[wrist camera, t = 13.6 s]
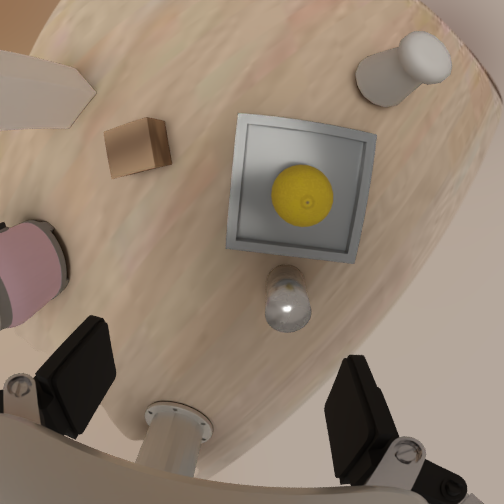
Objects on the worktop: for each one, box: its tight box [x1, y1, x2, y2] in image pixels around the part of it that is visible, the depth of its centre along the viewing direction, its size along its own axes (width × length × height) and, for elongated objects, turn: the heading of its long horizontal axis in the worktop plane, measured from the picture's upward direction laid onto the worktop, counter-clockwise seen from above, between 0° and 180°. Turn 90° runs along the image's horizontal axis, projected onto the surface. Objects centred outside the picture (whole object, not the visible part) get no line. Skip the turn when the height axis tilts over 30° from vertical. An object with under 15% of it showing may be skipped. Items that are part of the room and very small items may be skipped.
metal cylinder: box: [265, 265, 311, 333], centre depth 30 cm, size 4×4×7 cm
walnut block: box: [104, 117, 172, 179], centre depth 27 cm, size 5×5×5 cm
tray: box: [225, 113, 377, 264], centre depth 29 cm, size 14×14×2 cm
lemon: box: [271, 165, 333, 227], centre depth 25 cm, size 6×6×8 cm
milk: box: [0, 50, 96, 131], centre depth 17 cm, size 6×6×22 cm
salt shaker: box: [355, 31, 452, 107], centre depth 19 cm, size 6×6×13 cm
